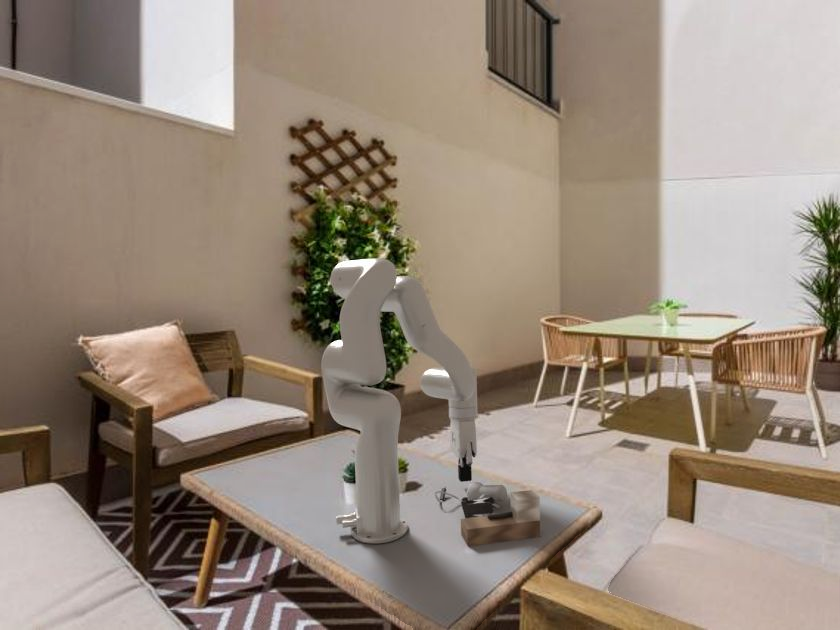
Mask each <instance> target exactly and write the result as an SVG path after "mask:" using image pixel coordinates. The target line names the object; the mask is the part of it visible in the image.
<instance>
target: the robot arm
mask: <svg viewBox="0 0 840 630" xmlns="http://www.w3.org/2000/svg"><path fill="white" fill-rule="evenodd" d="M330 284H331V287H332V289H333V291H334V292H335V293H336V295H338V296H339V297H340V298H342V299H344V301H343V304H342V307H341V309H340V313H339V329H340V330H339V331H340V336H341V337H340V338H341V339H338V340H334V341H333V342H331V343H329V344H328V345H327V347H326V348H325V349H324V351H323V354H322V357H321V365H320V367H321V376H322V381H323V386H324V390H325V395H326V396H325V397H326V400H327V406H328V408H329V413H330V415H331V417H332V419H333V420H334V421H335V422H336V423H337V424H339V425H341V426H343V427H346V428H350V429H353V430H357V431H360V435H359V437H358V440H357V442H356V446H355V448H354V470H355V471H354V472H355V476H354V477H355V492H356V493H355V497H356V498H355V499H356V506H355V507H354V511H353V512H350V514H349V513H348V514H338V515H336V518H335V519H336V525H337V526H338V525H342V529H346V528H350V534H351V536H352V537H353V538H354V539H355V540H357V541H359V542H361V543H366V544H373V545H374V544H386V543H389V542H393V541H395V540H398V539H400V538H401V537H404V535H405V534H406V533H407V531H408V530H409V529H408V528H409V526H408V522H407V520H406V518H404V517H403V516H401V506H400V505H401V501H400V481H399V480H400V477H399V476H400V475H399V447H398V446H399V445H398V444H399V443H398V441H399V439H398V438H399V431H400V423H401V415H402V407H401V404H400V401H399V399H398V398H397V397H396V396H395V395H394V394H393V393H391V392H389V391H387V390H385V389H380V388H374V387H367V386H374V385H377V384H379V383H381V382H382V381H383V380H384V378H385V376H386V374H387V359H386V353H385V348H384V342H383V336H382V331H381V323H380V322H381V321H380V320H381V319H380V318H381V312H384V313H387V312H388V313H389V312H391V313H394V315H395V318H396V320H397V321H398V323H399V326H400V328H401V331H402V333H403V336H404V338H405V340H406V342H407V344H408V345H409V346H410V347H411V348H413V349H415V350H416V351H417V352H419V353H421V354H423V355H425V356H426V357H428V358H430V359H432V360H434V361H435V362H437V363H438V364H439V365H440V366H441V367H431V368H429V369H427V370H426V371H424V372H423V373H422V375H421V376H420V381H419V385H420V389H421V391H422V392H423V394H425V395H426V396H429V397H431V398H437V399H442V400H443V399H444V400H448V418H449V419H450V423H449V424H450V429H449V435H450V436H449V448H450V450H451V452H452V453H453V454H454V455H455V456H456V458H457V473H458V474H457V475H458V480H459V482H461V483H463V482H471V481H472V479H473V478H472V477H473V476H472V474H473V473H472V465H473V458H476V457H477V452H478V448H477V446H478V442H477V431H476V430H477V429H476V428H477V427H476V421H475V420H477V419H478V417H479V415H478V386H477V385H478V380H477V378H478V376H477V375H478V374H477V369H476V367H475V366H473V365H471V364H470V361H469V359H468V357H467V356H466V354H465V352H464V351H463V350H462V349H461V348H460V347H459V346H458V345H457V344H456V343H455V342H454V341H453V340H452V339H451V337H449V336H448V335H447V334H446V333H444V332H443V331H442V330H441V328H440V326H439V323H438V321H437V318H436V315H435V314H434V310H433V308H432V306H431V303H430V300H429V297H428V296H427V295H428V294H427V293H426V291H425V287H424V286H423V284H422V282H421V281H420V280H419V279H418V278H416V277H413V276H410V275H398V273H397V268H396V265H395V264H394V263H393V262H392V261H390V260H389V259H385V258H380V257H379V258H378V257H373V258H372V257H371V258H363V259H354V260H353V259H352V260H345V261H341V262H339V263H337V265H335V267H334V268H333V269H332V271H331V274H330Z"/></svg>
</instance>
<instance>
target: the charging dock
mask: <svg viewBox="0 0 840 630" xmlns="http://www.w3.org/2000/svg"><path fill="white" fill-rule="evenodd" d="M509 494H510V495H509V496H510V497H509V498H510V499H509V502H510V511H507V512H505V511H504V512H498V513H497V512H496V513H492V514H484V515H481V516H471V518H465V517H464V518H460V535H461V537H462V539H463V541H464V542H465V544H466V545H467V547H470V546H478V545H486V544H493V543H502V542H508V541H514V540H515V541H516V540H523V539H529V538H532V539H533V538H539V537H541V507H540V506H541V504H540V502H541V501H540V496H539V495H538V494H537V493H536V492H535V491H534V490H532V489H530V490H521V491H511V492H510V493H509Z"/></svg>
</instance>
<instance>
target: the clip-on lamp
mask: <svg viewBox="0 0 840 630" xmlns="http://www.w3.org/2000/svg"><path fill="white" fill-rule="evenodd" d="M507 490H508V489H507V487H505V486H504V484H490V485H489V484H483V483H481V482H478V481H473V482H472V483H470V484H469V485H468V487H467V489H466V496H464V497H462V498H460V497H458V496H456V495H453V494H451V493H448V492H447V486H443V487H442V488H441V490H436V491H435V492H434V497H435V498H436V500H437V502H438V503H443V501H445V498H446V495H447V496H449V497H452V498H454V499H456V500H458V501H460V505H461V508H462V511H463V515H464V518H472V516H478V515H489V514H494V511H495V510H494V508H495V507H496V508H498V509H500V507H501V506H500V505H499V504H497V503H496V501H498V500H499V501H501V500H505V499H506V497H507V496H508V491H507ZM438 493H440V496H439V498H438V495H437V494H438Z"/></svg>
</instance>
